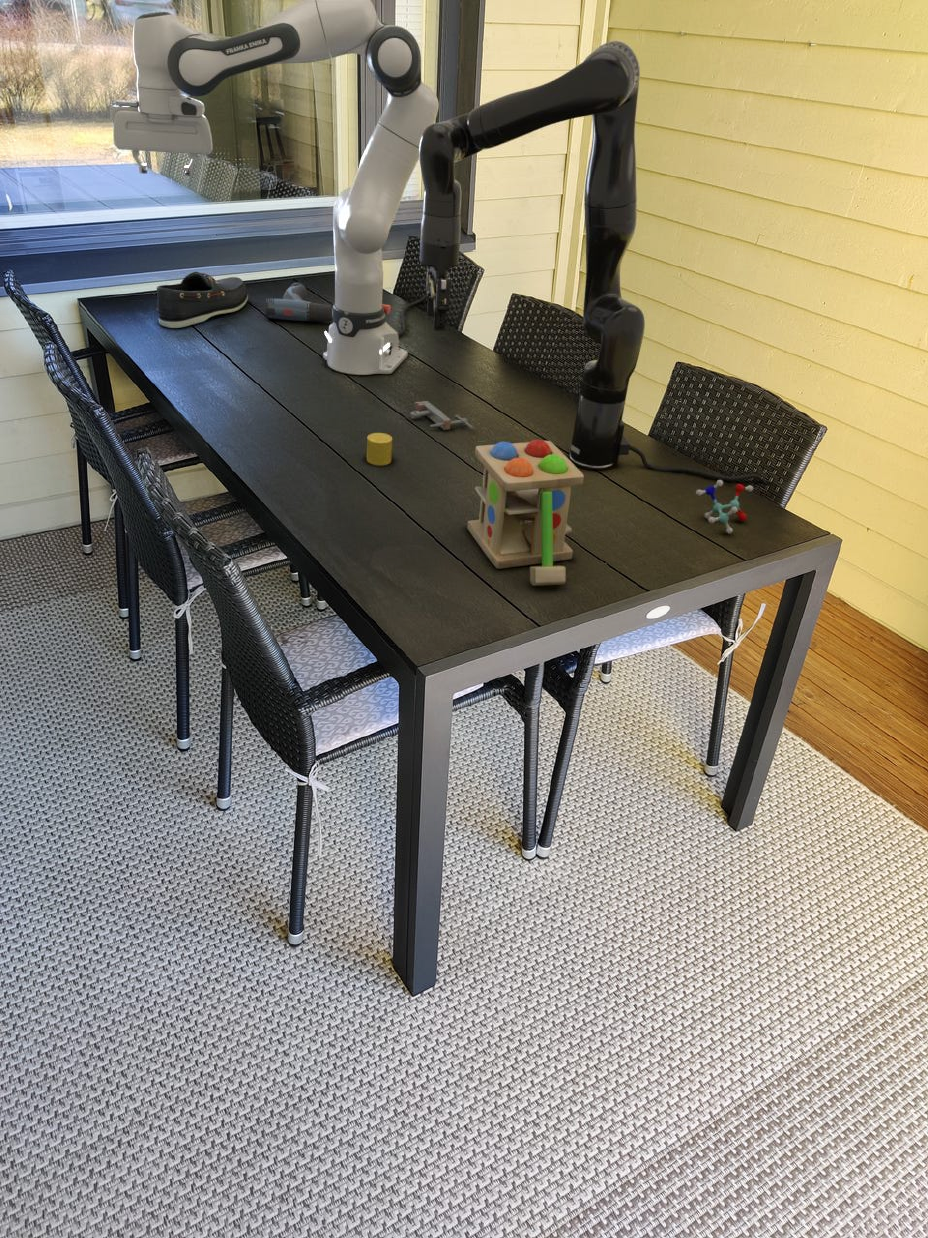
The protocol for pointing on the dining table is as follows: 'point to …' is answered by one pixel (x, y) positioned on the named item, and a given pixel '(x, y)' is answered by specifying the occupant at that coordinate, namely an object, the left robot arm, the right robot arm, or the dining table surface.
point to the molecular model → (719, 507)
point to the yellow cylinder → (379, 449)
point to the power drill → (297, 306)
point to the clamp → (436, 416)
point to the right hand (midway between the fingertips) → (435, 322)
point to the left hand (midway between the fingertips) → (166, 174)
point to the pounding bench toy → (525, 507)
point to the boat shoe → (199, 299)
